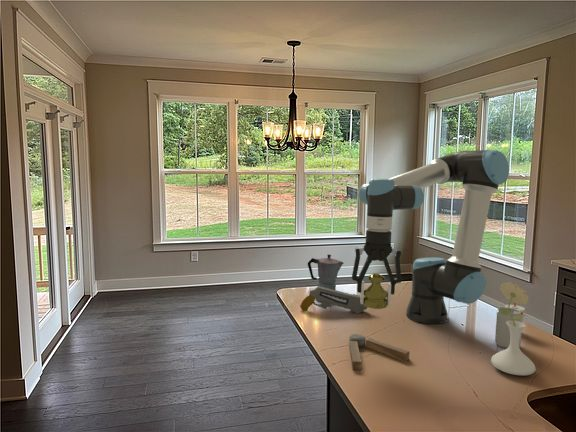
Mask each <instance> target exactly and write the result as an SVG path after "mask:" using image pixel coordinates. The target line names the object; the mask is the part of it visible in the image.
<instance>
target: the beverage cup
mask: <svg viewBox="0 0 576 432" xmlns="http://www.w3.org/2000/svg"><path fill="white" fill-rule="evenodd" d="M508 306H509V304H506V305H504V308H508ZM509 308H513V309H517V310H519V311H520V312H521V315H524V312H525V311H526V308H525V307H524V306H521V305H518V304H516V303H513V304H512V303H510V307H509Z"/></svg>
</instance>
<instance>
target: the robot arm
mask: <svg viewBox="0 0 576 432" xmlns="http://www.w3.org/2000/svg"><path fill="white" fill-rule="evenodd" d="M509 176H510V165H509V160H508V158H507V156H506V155H505V154H504V153H503V152H502V151H500V150H498V149H497V150H495V149H492V150H491V149H483V150H479V149H478V150H459V151H455V152H452V153H449V154H446V155H443V156H441V157H438V158H435V159H432V160H431V161H430V163H429V164H425V165H423V166H421V167H417V168H414V169H411V170H410V171H407V172H404V173H401V174H398V175H396V176H393V177H389V178H371V179H369V182H368V183H364V184H362V186H360V188H359V191H358V196H359V197H358V198H359V200H360V202H361V203H362V204H363V205H367V206H366V223H365V224H366V225H365V228H366V229H367V230H366V231H365V244H364V246H363V247H357V246H356V247H354V248H355V249H354V252H355V258H354V263H353V268H352V272H351V273H352V274H351V279H352V280H353V281H355V282H357V287H356V290H357V293H360V296H361V297H360V302H361V304H363V299H364V290H365V281H364V278H365V276H366V274H367V271H368V270H369V268H370V265H371V263H372V262H373V261H375V262H376V261H379V262H383V265H384V267H385V270H386V273H387V276H388V278H389V281H390V282H387V288H386V289H387V290H386V291H387V292H388V296H387V300H388V301H387V307H388V306H389V307H390V306H391V300H392V299H391V297H392V295H395V293H396V292H395V291H396V290H395V289H396V284H401V283H402V272H401V261H400V257H401V255H402V251H401V250H400V249H396V248H392V231H391V230H392V228H393V211H396V210H400V211H401V210H406V211H407V210H409V211H411V210H417V209H419V208H420V207H421V206H422V205H423V203H424V201H425V200H424V199H425V194H424V191H423V189H427V188H428V187H430V186H434V185H436V184H437V185H443V184H446V183H462V184H461V186H462V188H463V189H464V191H465V192H464V197H463V202H462V207H461V212H460V217H459V220H458V221H459V223H458V224H457V225H458V227H457V231H456V235H455V240H454V246H453V250H452V255H451V256H450V257H449V258H447V259H445V258H444V257H435V256H434V257H420V258H417V259H414V261H413V266H412V278H411V279H412V281H411V283H412V284H411V285H412V287H411V297H410V300H409V302H408V305H407V307H406V313H405V314H406V317H408V318H409V319H410V320H412V321H415V322H419V323H421V324H423V323H424V324H429V325H431V324H433V325H436V324H443V323H445V322H447V321H448V311H447V307H446V304H445V303H446V302H445V299H444V298H446V299H450V300H453V301H455V302H457V303H462V304H467V305H470V304H473V303H476V302H477V301H478V300H480V298H481V297H482V296H483V294H484V292H485V289H486V285H487V281H486V280H487V279H486V276H485V275H484V274H483V273H482V265H481V264H480V263H479V257H480V253H481V249H482V244H483V239H484V234H485V229H486V225H487V224H486V223H487V220H488V214H489V210H490V205H491V201H492V200H491V199H492V195H493V194H495V193H496V192H498V190H499V186H500V185H502V184H505V183H506V181H508V178H509ZM363 252H364V253H365V254H366V255H367V257H366V259H365V262H364V264H363V266H362V268H361V271H360V273H359V272H358V271H359V265H360V261H361V255H363ZM391 253H392V256H393V257H394V267H395V278H394V275H393V272H392V269H391V266H390V263H389V261H388V257H389V256H390V254H391ZM358 273H359V275H358Z"/></svg>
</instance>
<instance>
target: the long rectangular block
mask: <svg viewBox="0 0 576 432" xmlns="http://www.w3.org/2000/svg"><path fill="white" fill-rule="evenodd" d="M365 348H367V349H370V350H373V351H375V352H378V353H381V354H383V355H385V356H389V357H392V358H395V359H396V360H399V361H402V362H407V361H409V360H410V350H407V349H404V348H403V347H402V348H401V347H398V346H396V345H393V344H389V343H387V342H384V341H381V340H378V339H376V338H372V337H368V338H367V339H366V342H365Z"/></svg>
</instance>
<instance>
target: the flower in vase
mask: <svg viewBox="0 0 576 432" xmlns="http://www.w3.org/2000/svg"><path fill="white" fill-rule="evenodd" d="M499 290H500V291H501V292H502V295H503V296H504V297H505V298H506V299H507V300H508V301H509V303H508V305H509V306H508V310H506V309H505V306H504V307H503V306H500V307H499V308H498V309H497V312H499V311H500V312H502V313H504V314H506V315H508V314H510V316H511V313H510V310H509V307H510V304H512V303H513V304H514V303H516V305H518V306H521V305H522V306H523V305H528V303H529V300H530V299H529V295H527V291H526V290H524V288H522V287H520V286H519V284H516V283H515V284H514V283H513V282H509V281H507V282H503V283H502V284H500V288H499ZM525 316H526V314H523V315H518V316H516V317H514V318H512V316H511V319H512V321H507V322H506V324H507V325H508V327H509V330H510V345H509V347H508V348H507V349H505V348H504V349H503V350H501V351H498V352H497V353H494V354H493V355H492V356H491V359H490V362H491V364H492V365H493V367H495V368H496V369H497V370H499V371H502V372H504V373H506V374H510V375H512V376H513V375H514V376H529V375H530V376H531V375H533V374H534V373H535V372H536V368H537V367H536V366H535V365H536V364H534V362H533V361H532V360H531V359H530V358H529V357H528V356H527V355H525V354H524V353H523V352H522V351H521V349H520V347H519V338H520V334H521V332H522V331H523V330H524V329H525V328H526V327H527V325H526V324H525V323H524V322H518V321H514V320H513V319H519V318H522V317H525ZM522 333H523V332H522ZM521 335H522V334H521Z"/></svg>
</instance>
